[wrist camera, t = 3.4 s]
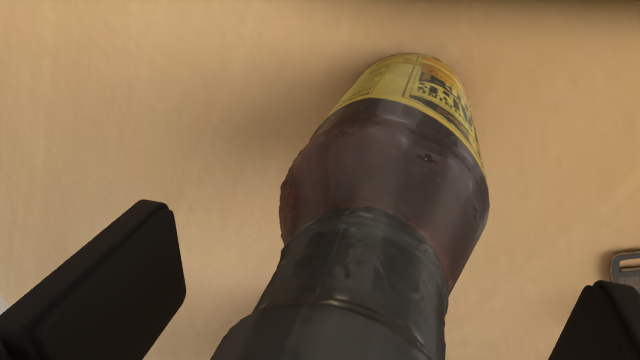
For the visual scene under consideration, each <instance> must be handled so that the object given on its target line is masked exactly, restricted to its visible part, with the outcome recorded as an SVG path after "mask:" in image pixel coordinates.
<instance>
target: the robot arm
mask: <svg viewBox="0 0 640 360" xmlns="http://www.w3.org/2000/svg"><path fill="white" fill-rule="evenodd" d="M185 296H186V285H185V279H184V273H183V267H182V261H181V255H180V249H179V243H178V237H177V231H176V224H175V218H174V214H173V212H172V211H171V210H169V208H168V206H167V205H166V204H165V203H162V202H156V201H150V200H145V199H143V200H140V201H138V202H137V203H135V204H134V205H133V206H132V207H131V208H129V209H128V210H127V211H126V212H124V213H123V214H122V215H121V216H120V217H118V218H117V219H116V220H115V221H114V222H112V223H111V224H110V225H109V226H108V227H106V228H105V229H104V230H103V231H101V232H100V233H99V234H98V235H97V236H95V237H94V238H93V239H92V240H91V241H89V242H88V243H87V244H86V245H85V246H83V247H82V248H81V249H80V250H79V251H77V252H76V253H75V254H74V255H72V256H71V257H70V258H69V259H68V260H66V261H65V262H64V263H63V264H62V265H60V266H59V267H58V268H57V269H56V270H54V271H53V272H52V273H51V274H49V275H48V276H47V277H46V278H45V279H43V280H42V281H41V282H40V283H39V284H37V285H36V286H35V287H34V288H33V289H31V290H30V291H29V292H28V293H26V294H25V295H24V296H23V297H22V298H20V299H19V300H18V301H17V302H16V303H14V304H13V305H12V306H11V307H10V308H8V309H7V310H6V311H5V312H3V313H2V314H1V315H0V360H142V359H143V358H144V357H145V355H146V354H147V352H148V351H149V350H150V348H151V347H152V346H153V344H154V343H155V341H156V340H157V339H158V337H159V336H160V334H161V333H162V332H163V330H164V329H165V327H166V326H167V325H168V323H169V322H170V320H171V319H172V318H173V316H174V315H175V314H176V312H177V311H178V309H179V308H180V307H181V305H182V303H183V302H184V299H185ZM548 360H640V294H639V293H638V291H637V290H636V289H635V288H634V287H633V286H631V285H625V284H620V283H614V282H608V281H603V280H598V281H596V282H595V283H594V284H593V286H590V285H587V286H585V287H584V289H583V290H582V292H581V294H580V296H579V298H578V300H577V302H576V304H575V306H574V308H573V310H572V312H571V314H570V316H569V319H568V321H567V323H566V325H565V327H564V329H563V331H562V333H561V335H560V337H559V339H558V341H557V343H556V345H555V347H554V349H553V351H552V353H551V355H550V357H549V359H548Z"/></svg>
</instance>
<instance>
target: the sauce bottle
mask: <svg viewBox="0 0 640 360" xmlns="http://www.w3.org/2000/svg"><path fill="white" fill-rule="evenodd" d="M280 188H281V194H280V206H279V218H280V228H281V232H282V233H281V237H282V240H283V243H284V248H283V249H282V250H281V257H280V261H279V263H278V266H277V270H276V271H275V273H274V274H273V276H272V278H271V280H270V282H269V284H268V285H267V287H266V289H265V291H264V292H263V294H262V296H261V298H260V300H259V301H258V303H257V305H256V307H255V309H254V310H253V312H252V314H250V315H248V316H246V317H244V318H243V319H241V320H240V321H239V322H238V323H237V324H236V325H234V326H233V327H232V328H230V329H229V331H228V333H227V334H226V335H225V336H224V337H223V339H222V340H221V342H220V344H219V346H218V347H217V349H216V351H215V352H214V354H213V356H212V357H211V359H210V360H445V349H446V344H445V340H444V339H445V337H444V327H445V319H444V318H445V315H446V313H447V309H448V297H449V295H450V293H451V291H452V289H453V287H454V285H455V284H456V282H457V280H458V278H459V276H460V274H461V272H462V270H463V268H464V266H465V264H466V263H467V261H468V259H469V257H470V255H471V253H472V251H473V249H474V247H475V245H476V244H477V242H478V240H479V238H480V236H481V234H482V232H483V230H484V228H485V226H486V223H487V219H488V214H489V206H490V204H489V191H488V186H487V181H486V175H485V172H484V168H483V163H482V159H481V155H480V149H479V144H478V140H477V136H476V132H475V127H474V124H473V120H472V116H471V111H470V107H469V103H468V99H467V95H466V92H465V89H464V87H463V84H462V82H461V81H460V79H459V78H458V77H457V75H456V74H455V73H454V72H453V71H452V70H451V69H450V68H449V67H448V66H446V65H445V64H444V63H442V62H441V61H440V60H438V59H437V58H434V57H429V56H426V55H422V54H416V53H405V54H398V55H392V56H390V57H387V58H385V59H382V60H380V61H378V62H377V63H375V64H374V65H372V66H371V67H369V68H368V69H367V70H366V71H365V72H364V73H363V75H362V76H361V77H360V78H359V79H358V80H357V82H356V83H355V84H354V85H353V86H352V87H351V89H350V90H349V91H348V92H347V93H346V94H345V95H344V97H343V98H342V99H341V100H340V101H339V102H338V104H337V105H336V106H335V107H334V108H333V110H332V111H331V112H330V113H329V114H328V116H327V117H326V118H325V119H324V120H323V121H322V123H321V124H320V125H319V126H318V128H317V129H316V130H315V132H314V133H313V135H312V137H311V138H310V140H309V142H308V144H307V145H306V146H305V147H304V148H303V149H302V150H301V151H300V153H299V154H298V156H297V157H296V159H295V160H294V161H293V164H292V166H291V167H290V168H289V171H288V174H287V175H286V178H285V180H284V181H283V183H282V184H281V187H280Z"/></svg>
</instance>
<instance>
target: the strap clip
mask: <svg viewBox="0 0 640 360" xmlns="http://www.w3.org/2000/svg"><path fill="white" fill-rule="evenodd" d="M636 258H640V251H636V252H627V253H619V254H616V255H615V256H614V257H613V258H612V261H611V266H610V273H611V279H612V282H614V283H620V284H625V285H631V286H633V287H634V288H635V289H636V290H637V291H638V293H639V294H640V267H636V268H626V269H619V265H620V261H622V260H627V259H636Z"/></svg>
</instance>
